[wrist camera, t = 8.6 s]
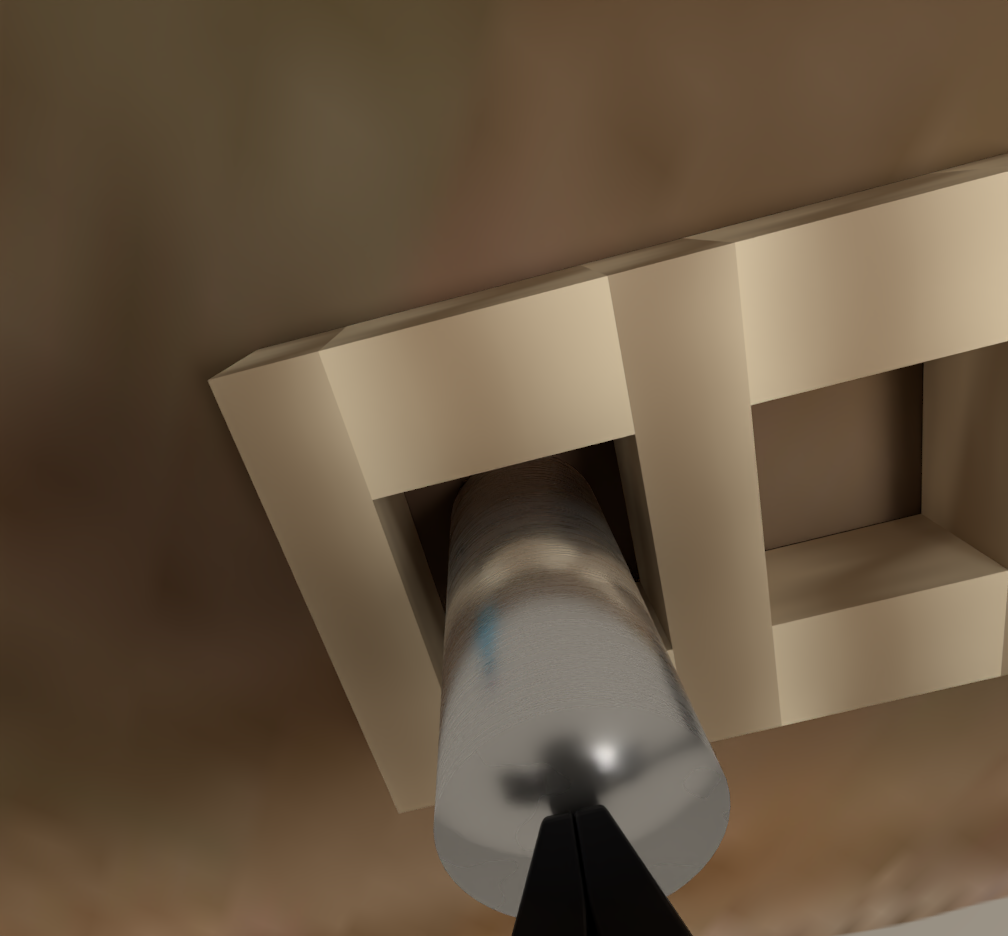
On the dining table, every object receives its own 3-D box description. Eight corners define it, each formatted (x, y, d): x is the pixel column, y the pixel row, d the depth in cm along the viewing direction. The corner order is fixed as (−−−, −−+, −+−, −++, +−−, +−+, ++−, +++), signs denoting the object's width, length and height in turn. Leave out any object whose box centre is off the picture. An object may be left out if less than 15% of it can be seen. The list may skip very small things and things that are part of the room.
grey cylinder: (582, 436, 16) (712, 676, 7) (610, 567, 17) (743, 889, 9) (432, 474, 16) (393, 751, 8) (472, 600, 17) (476, 947, 9)
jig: (1024, 148, 14) (1165, 130, 11) (994, 589, 18) (1088, 655, 16) (257, 349, 15) (207, 380, 12) (408, 726, 19) (399, 813, 16)
